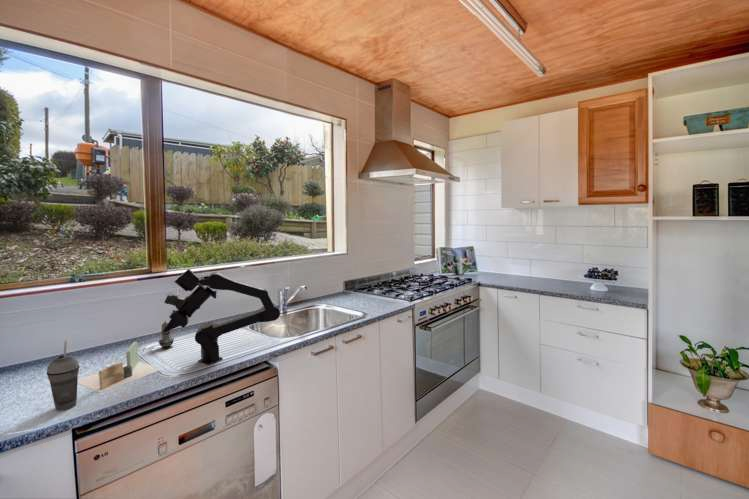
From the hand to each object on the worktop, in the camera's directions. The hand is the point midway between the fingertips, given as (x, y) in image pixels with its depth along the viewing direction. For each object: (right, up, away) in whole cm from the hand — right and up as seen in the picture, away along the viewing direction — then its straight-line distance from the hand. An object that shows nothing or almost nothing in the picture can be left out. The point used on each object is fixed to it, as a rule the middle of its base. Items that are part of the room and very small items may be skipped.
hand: (164, 331), depth 132 cm
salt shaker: (-11, -12, +20) cm, 26 cm away
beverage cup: (-12, -16, -28) cm, 34 cm away
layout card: (-12, -14, -7) cm, 20 cm away
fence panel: (-11, -13, -1) cm, 17 cm away
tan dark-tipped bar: (-9, -14, -12) cm, 21 cm away
